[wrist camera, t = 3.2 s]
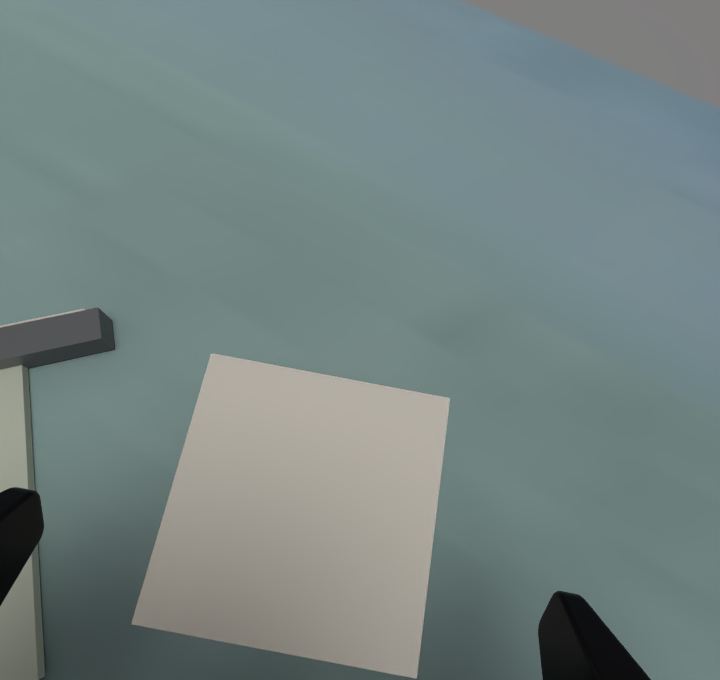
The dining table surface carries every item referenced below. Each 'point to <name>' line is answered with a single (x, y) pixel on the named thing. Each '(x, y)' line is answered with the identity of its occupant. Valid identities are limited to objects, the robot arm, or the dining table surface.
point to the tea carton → (301, 517)
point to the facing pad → (23, 602)
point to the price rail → (55, 338)
